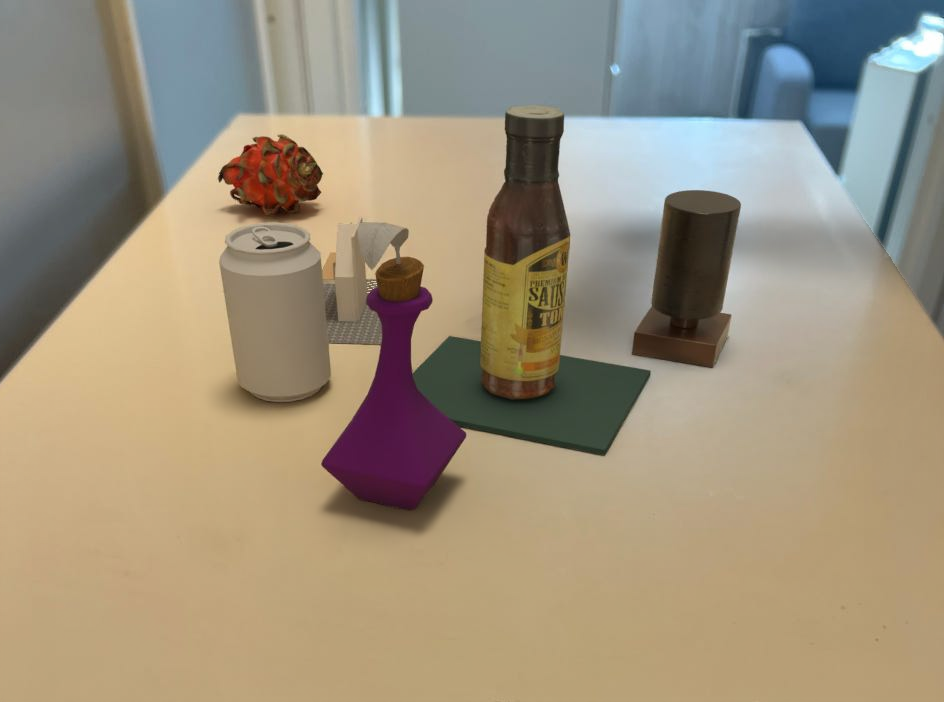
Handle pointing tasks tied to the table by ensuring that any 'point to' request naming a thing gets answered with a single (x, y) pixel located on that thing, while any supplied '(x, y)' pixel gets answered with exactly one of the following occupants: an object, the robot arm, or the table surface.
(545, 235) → the sauce bottle
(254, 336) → the can
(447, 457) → the perfume bottle
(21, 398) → the table surface
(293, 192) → the dragon fruit
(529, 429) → the mat
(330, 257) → the architectural model
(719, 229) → the dark brown piece
